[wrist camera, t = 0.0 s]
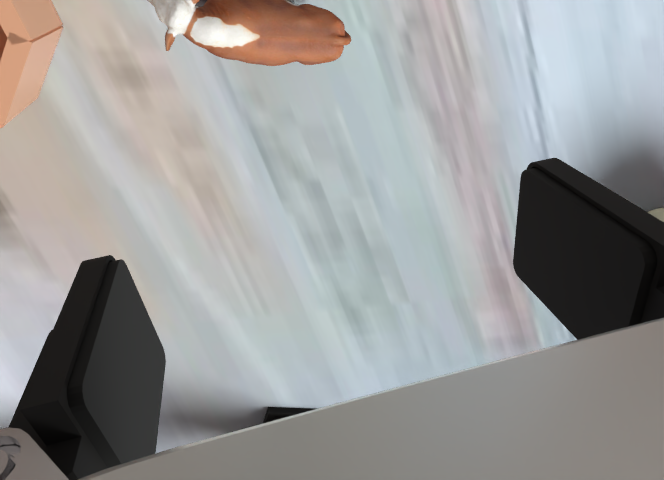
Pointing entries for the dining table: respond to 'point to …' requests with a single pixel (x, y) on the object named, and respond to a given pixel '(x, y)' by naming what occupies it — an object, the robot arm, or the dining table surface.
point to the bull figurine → (256, 30)
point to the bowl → (25, 52)
